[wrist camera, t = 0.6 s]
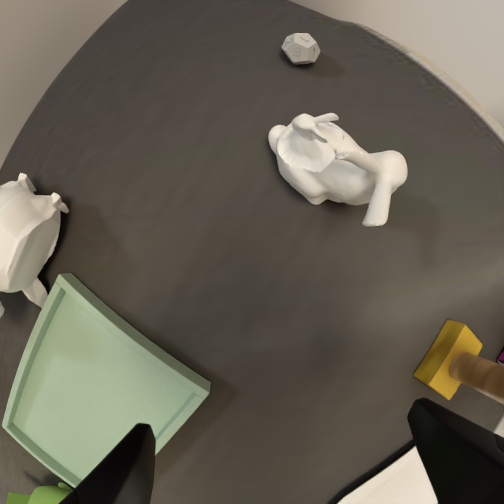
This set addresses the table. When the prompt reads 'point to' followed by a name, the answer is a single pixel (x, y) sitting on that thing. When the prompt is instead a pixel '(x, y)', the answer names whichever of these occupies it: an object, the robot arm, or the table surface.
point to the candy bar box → (501, 358)
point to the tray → (93, 384)
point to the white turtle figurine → (26, 237)
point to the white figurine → (336, 166)
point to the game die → (301, 48)
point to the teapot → (41, 495)
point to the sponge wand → (460, 364)
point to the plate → (396, 484)
